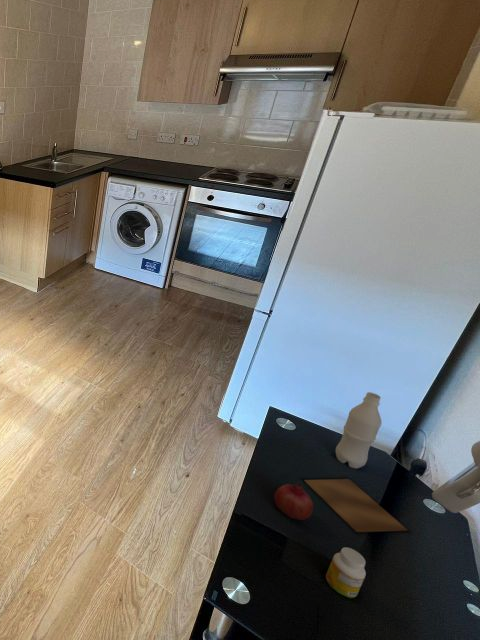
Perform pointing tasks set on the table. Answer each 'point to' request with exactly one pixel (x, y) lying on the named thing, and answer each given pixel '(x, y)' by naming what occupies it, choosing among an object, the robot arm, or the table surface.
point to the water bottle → (360, 432)
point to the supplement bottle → (346, 572)
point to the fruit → (294, 501)
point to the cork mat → (354, 506)
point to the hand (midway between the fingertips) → (453, 488)
